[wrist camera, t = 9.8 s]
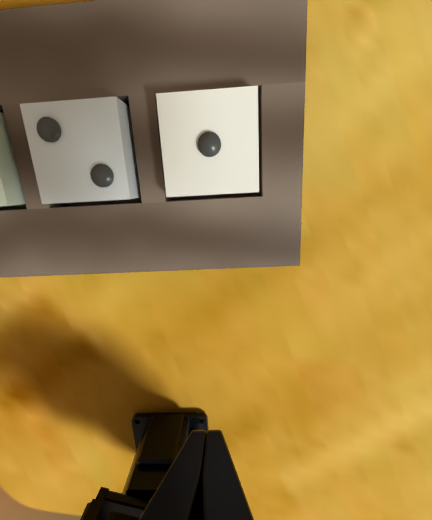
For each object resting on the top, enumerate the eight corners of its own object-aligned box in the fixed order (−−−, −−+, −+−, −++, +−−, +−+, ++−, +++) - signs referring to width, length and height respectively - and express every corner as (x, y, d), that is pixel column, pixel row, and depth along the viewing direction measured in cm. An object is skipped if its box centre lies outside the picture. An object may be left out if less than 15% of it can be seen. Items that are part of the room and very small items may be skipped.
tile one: (254, 190, 17) (259, 192, 14) (176, 194, 18) (165, 197, 15) (252, 102, 16) (258, 84, 13) (168, 108, 16) (154, 92, 13)
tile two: (146, 196, 18) (129, 199, 15) (71, 200, 18) (40, 204, 15) (135, 111, 16) (114, 95, 13) (55, 117, 17) (17, 102, 14)
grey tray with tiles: (289, 253, 20) (299, 265, 17) (-31, 266, 21) (-72, 280, 18) (293, 16, 16) (307, -21, 13) (-98, 52, 17) (-164, 25, 14)
